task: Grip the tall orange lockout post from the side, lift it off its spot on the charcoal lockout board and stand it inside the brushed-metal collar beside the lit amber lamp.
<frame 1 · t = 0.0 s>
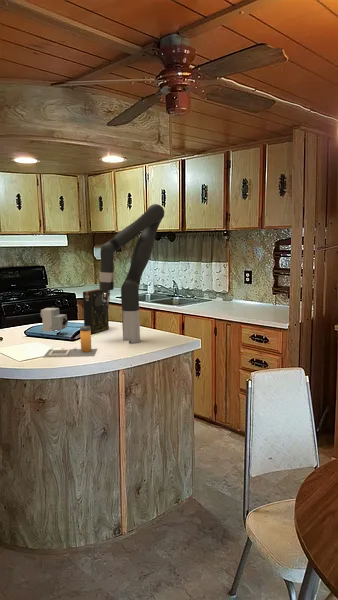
hand: (105, 310, 247), 17 cm above the countertop, tool pointing down, fingers open, 8 cm apart
circuit breaker: (56, 334, 271), on the countertop
lockout board: (71, 355, 223), on the countertop
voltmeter: (96, 331, 277), on the countertop
lockout post: (86, 351, 226), point 1 cm above the countertop, touching lockout board
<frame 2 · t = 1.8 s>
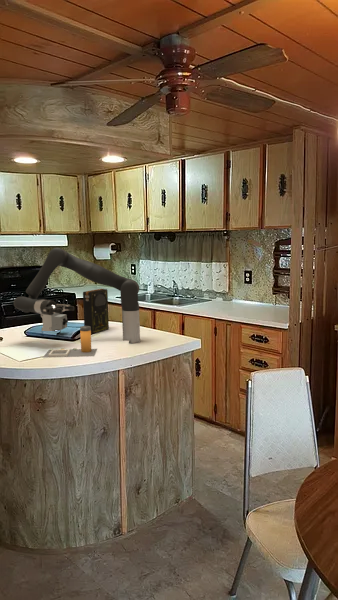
hand: (68, 309, 229), 21 cm above the countertop, tool horizontal, fingers open, 8 cm apart
nothing on the countertop moved.
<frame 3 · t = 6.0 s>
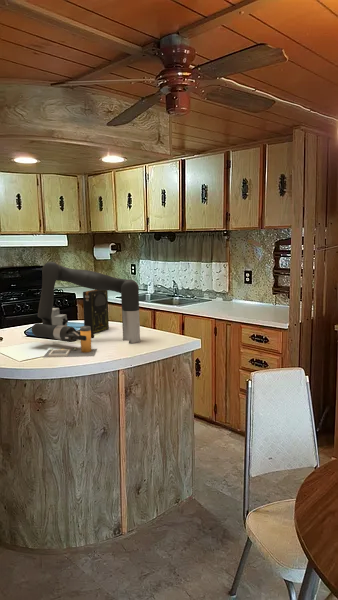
hand: (89, 337, 223), 9 cm above the countertop, tool horizontal, fingers closed on lockout post, 5 cm apart
lockout post: (86, 351, 226), point 2 cm above the countertop, touching gripper, lockout board
everything else where it was.
when the fingers open (10 cm above the countertop, at t = 10.4 s): lockout post drops 1 cm, resting on lockout board.
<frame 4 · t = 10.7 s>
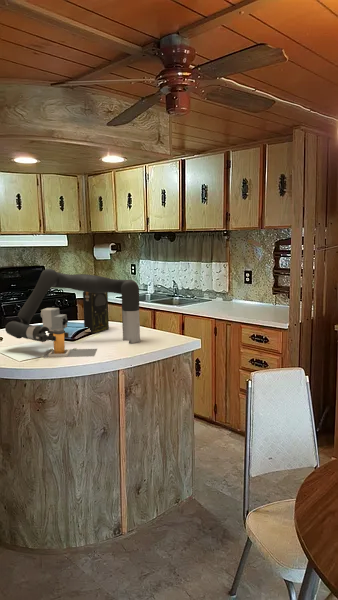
hand: (61, 337, 218), 10 cm above the countertop, tool horizontal, fingers open, 7 cm apart
lockout post: (59, 354, 220), point 2 cm above the countertop, touching lockout board
everything else where it was.
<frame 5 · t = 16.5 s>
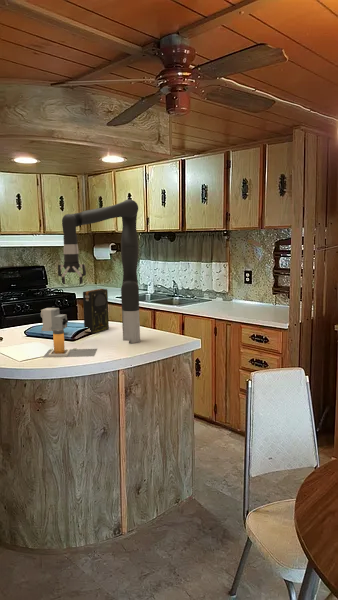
hand: (72, 284, 243), 32 cm above the countertop, tool pointing down, fingers open, 8 cm apart
nothing on the countertop moved.
at the end: lockout post 0.1 cm from the target spot on the lockout board, point 1.5 cm above the lockout board's base; lockout post tilted 0°; the gripper is holding nothing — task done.
